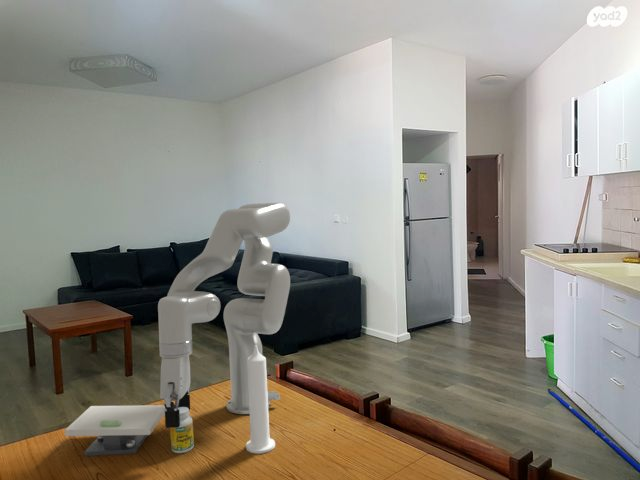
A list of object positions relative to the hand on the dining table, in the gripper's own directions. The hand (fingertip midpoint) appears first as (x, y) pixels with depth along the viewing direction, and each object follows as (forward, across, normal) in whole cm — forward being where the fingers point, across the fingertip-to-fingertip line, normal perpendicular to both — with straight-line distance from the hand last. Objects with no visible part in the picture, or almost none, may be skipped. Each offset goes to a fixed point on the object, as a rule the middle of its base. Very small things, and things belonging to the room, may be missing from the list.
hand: (178, 418), depth 118 cm
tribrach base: (+8, -6, -16) cm, 19 cm away
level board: (+3, -6, -16) cm, 18 cm away
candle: (+8, 0, +20) cm, 21 cm away
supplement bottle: (+8, -1, +1) cm, 8 cm away
